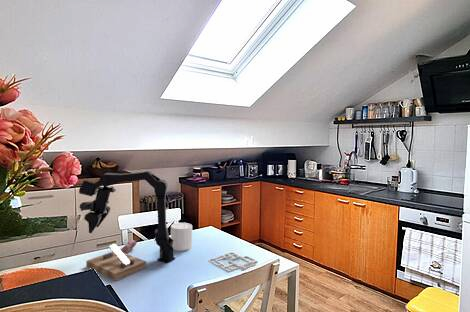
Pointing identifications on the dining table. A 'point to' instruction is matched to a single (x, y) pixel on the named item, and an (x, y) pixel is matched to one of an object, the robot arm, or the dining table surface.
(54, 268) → the dining table surface
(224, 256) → the floor plan model
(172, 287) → the dining table surface
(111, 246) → the strap
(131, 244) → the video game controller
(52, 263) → the dining table surface
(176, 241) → the cup
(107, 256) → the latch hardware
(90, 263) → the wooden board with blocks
